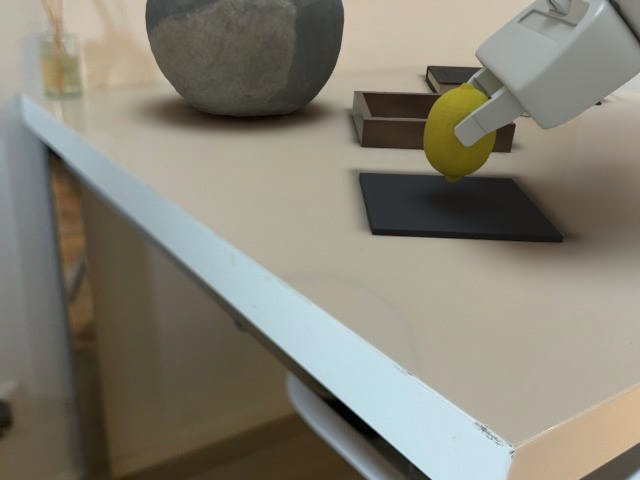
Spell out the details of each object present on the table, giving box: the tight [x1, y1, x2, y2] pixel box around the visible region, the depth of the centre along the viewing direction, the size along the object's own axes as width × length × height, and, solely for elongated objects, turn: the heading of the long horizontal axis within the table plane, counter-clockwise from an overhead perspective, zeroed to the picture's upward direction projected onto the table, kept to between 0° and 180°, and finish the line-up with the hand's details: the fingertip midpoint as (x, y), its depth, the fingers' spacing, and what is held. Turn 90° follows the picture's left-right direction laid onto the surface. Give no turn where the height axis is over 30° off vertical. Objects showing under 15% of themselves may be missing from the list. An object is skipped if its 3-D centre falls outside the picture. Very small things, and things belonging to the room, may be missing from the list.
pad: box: [358, 172, 564, 243], centre depth 55 cm, size 14×14×1 cm
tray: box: [351, 90, 517, 153], centre depth 78 cm, size 16×16×3 cm
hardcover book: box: [425, 64, 603, 106], centre depth 102 cm, size 16×23×2 cm
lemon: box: [423, 83, 496, 183], centre depth 53 cm, size 6×6×8 cm
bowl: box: [144, 0, 345, 118], centre depth 83 cm, size 24×24×15 cm
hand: (453, 127), depth 53 cm, fingers closed on lemon, 5 cm apart
